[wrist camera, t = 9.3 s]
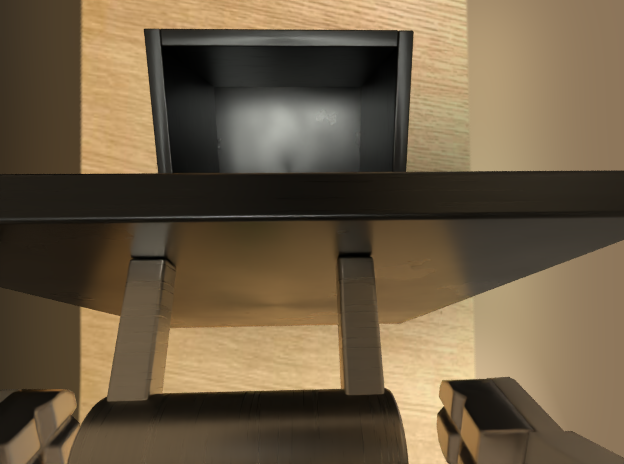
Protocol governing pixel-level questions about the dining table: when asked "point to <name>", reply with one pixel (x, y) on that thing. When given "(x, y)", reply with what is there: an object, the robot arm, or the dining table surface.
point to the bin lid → (280, 286)
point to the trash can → (279, 100)
